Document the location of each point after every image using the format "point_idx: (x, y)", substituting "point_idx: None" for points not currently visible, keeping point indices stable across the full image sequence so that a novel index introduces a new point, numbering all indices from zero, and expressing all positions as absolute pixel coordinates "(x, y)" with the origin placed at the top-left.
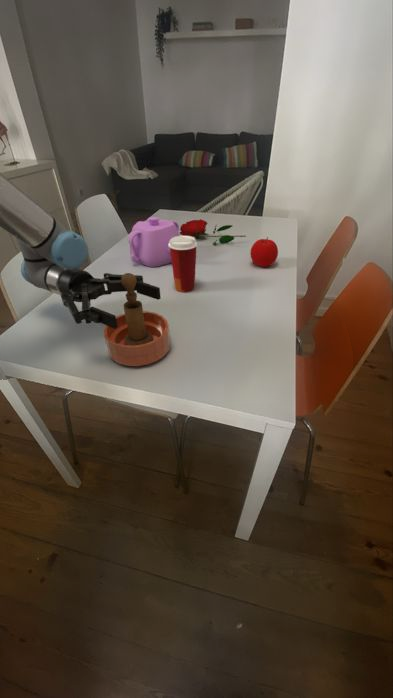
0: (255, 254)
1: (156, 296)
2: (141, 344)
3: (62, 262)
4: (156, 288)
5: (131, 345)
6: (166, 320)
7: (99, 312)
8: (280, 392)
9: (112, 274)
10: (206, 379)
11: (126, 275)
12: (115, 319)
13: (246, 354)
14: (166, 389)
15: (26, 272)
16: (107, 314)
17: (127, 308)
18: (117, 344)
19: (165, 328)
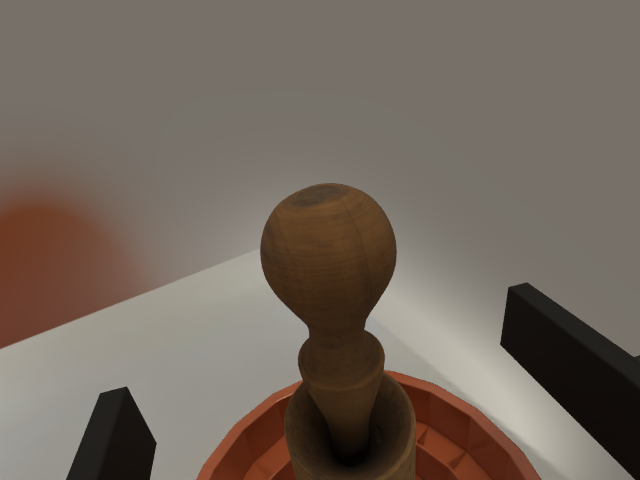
0: None
1: (146, 443)
2: (404, 381)
3: None
4: (120, 397)
5: (444, 401)
6: (205, 464)
7: (626, 356)
8: (244, 262)
9: None
10: (301, 325)
11: (343, 186)
12: (509, 304)
13: (173, 333)
14: (395, 345)
15: None
16: (558, 308)
17: (401, 390)
18: (507, 443)
19: (262, 412)
